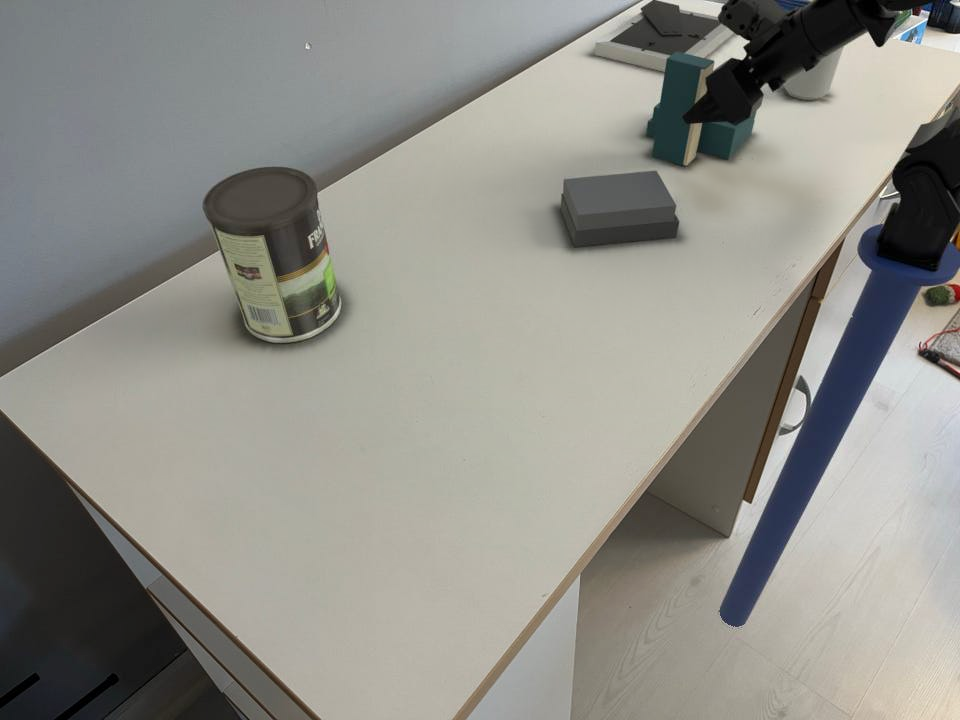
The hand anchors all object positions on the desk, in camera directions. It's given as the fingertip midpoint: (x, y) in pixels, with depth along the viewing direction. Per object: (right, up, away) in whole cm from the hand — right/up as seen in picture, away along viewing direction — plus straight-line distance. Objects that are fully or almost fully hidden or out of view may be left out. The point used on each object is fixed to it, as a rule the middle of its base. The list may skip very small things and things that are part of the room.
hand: (700, 105), depth 88 cm
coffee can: (-47, -26, -13) cm, 55 cm away
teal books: (+3, 0, +11) cm, 11 cm away
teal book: (-2, -4, +7) cm, 8 cm away
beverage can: (+21, +8, +19) cm, 30 cm away
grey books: (-11, -15, -3) cm, 19 cm away
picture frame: (+4, +22, +33) cm, 40 cm away
